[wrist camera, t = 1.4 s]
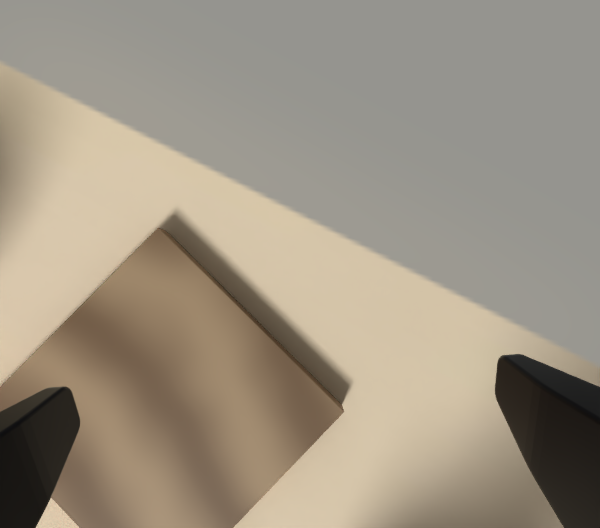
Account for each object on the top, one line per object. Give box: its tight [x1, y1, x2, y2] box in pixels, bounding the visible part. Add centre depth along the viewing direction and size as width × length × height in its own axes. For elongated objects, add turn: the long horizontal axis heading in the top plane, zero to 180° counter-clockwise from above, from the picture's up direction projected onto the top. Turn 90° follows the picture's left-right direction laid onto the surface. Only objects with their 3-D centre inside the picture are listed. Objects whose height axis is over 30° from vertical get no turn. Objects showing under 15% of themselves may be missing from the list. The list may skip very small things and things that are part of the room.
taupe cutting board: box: [0, 228, 344, 528], centre depth 22 cm, size 14×14×1 cm
